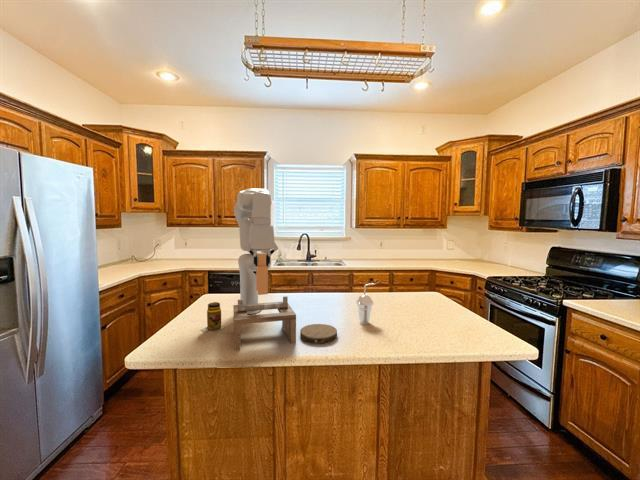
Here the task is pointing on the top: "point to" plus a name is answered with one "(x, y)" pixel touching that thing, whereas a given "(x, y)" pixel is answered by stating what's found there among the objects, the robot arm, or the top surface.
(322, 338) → the brown round disc
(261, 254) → the l-shaped step block
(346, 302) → the top surface
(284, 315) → the shelf
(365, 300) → the cup with straw
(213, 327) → the condiment
